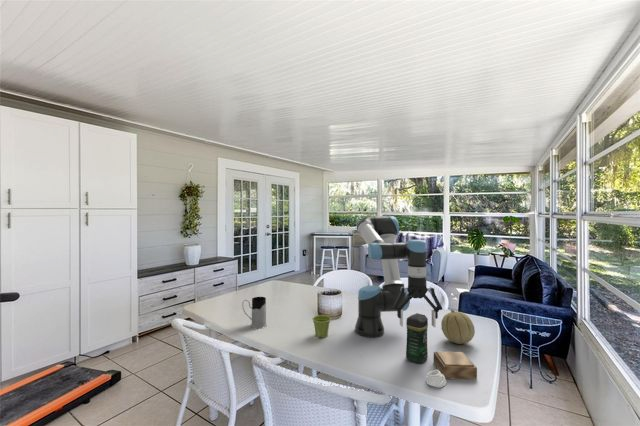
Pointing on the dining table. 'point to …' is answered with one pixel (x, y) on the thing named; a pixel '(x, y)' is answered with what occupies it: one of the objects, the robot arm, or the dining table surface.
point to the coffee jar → (417, 338)
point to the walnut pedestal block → (455, 365)
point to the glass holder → (258, 312)
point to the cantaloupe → (457, 327)
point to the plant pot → (321, 325)
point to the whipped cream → (436, 379)
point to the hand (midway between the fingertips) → (417, 325)
